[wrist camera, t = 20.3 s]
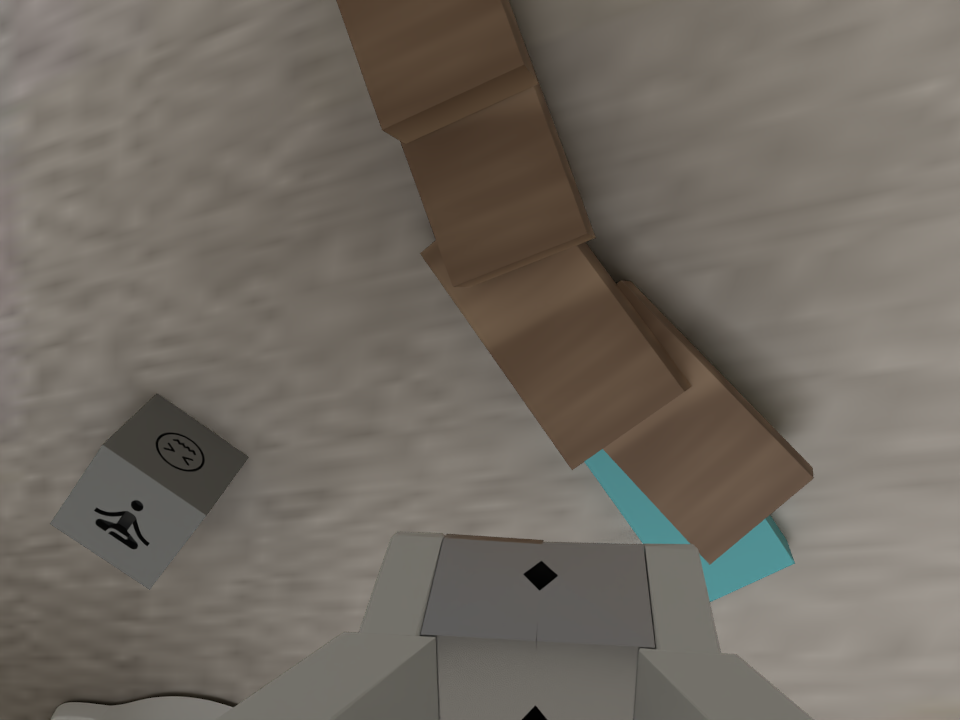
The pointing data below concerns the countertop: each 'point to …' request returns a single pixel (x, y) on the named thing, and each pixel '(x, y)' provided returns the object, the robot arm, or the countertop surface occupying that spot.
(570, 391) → the domino
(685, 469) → the domino
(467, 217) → the domino
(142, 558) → the grey cube
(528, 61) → the domino
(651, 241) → the countertop surface
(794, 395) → the countertop surface
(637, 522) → the domino
